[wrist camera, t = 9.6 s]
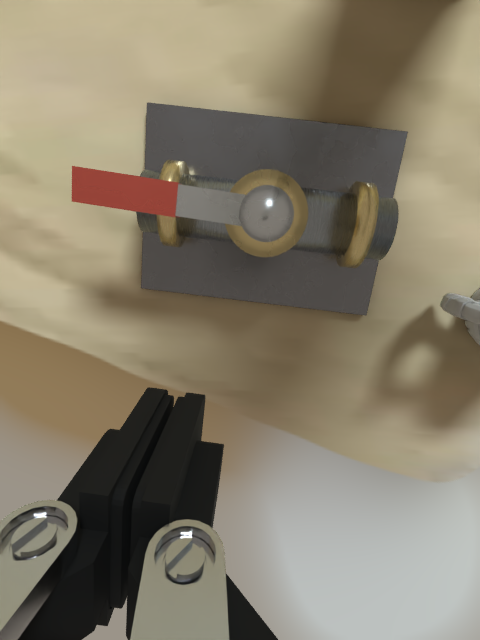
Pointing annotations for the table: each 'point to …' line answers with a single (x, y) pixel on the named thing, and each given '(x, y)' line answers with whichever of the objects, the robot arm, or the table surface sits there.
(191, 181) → the valve body
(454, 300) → the mug
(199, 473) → the robot arm
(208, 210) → the lever
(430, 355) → the table surface
